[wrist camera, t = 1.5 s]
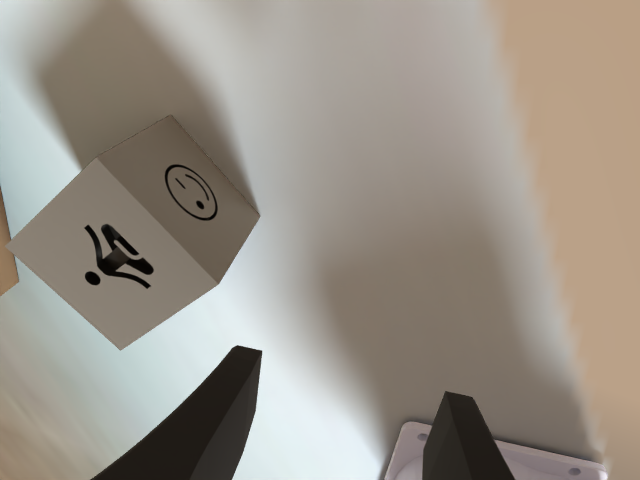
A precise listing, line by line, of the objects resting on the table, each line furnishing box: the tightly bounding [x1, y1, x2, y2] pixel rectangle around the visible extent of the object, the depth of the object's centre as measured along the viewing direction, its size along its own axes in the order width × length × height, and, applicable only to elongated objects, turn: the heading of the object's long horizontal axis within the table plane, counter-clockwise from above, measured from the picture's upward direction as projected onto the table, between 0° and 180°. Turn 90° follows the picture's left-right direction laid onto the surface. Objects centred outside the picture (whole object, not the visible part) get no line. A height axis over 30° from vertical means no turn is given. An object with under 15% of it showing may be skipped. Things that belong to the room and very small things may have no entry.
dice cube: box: [5, 115, 260, 351], centre depth 17 cm, size 5×5×5 cm
